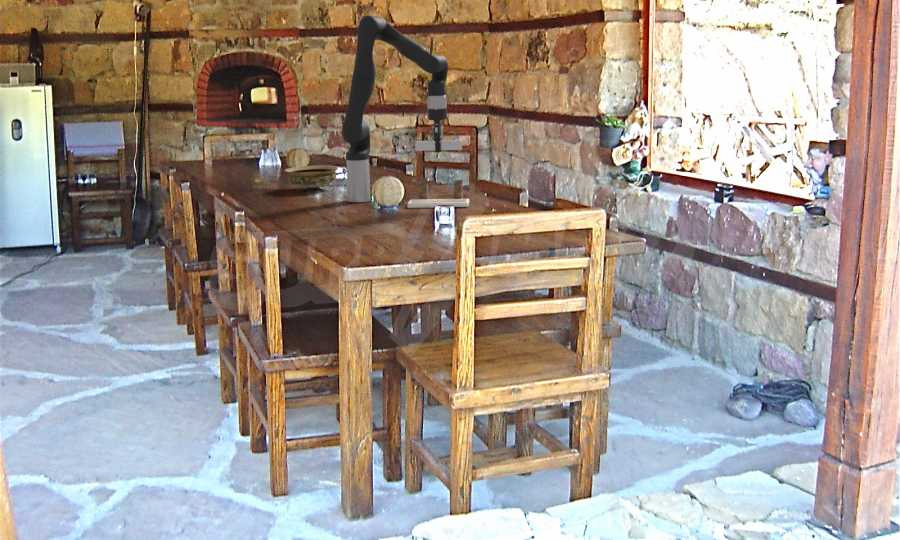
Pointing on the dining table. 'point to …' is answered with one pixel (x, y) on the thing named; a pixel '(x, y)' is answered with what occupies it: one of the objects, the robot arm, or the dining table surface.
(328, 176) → the ceramic bowl
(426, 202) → the tray
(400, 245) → the dining table surface
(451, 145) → the rail
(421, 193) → the rack
